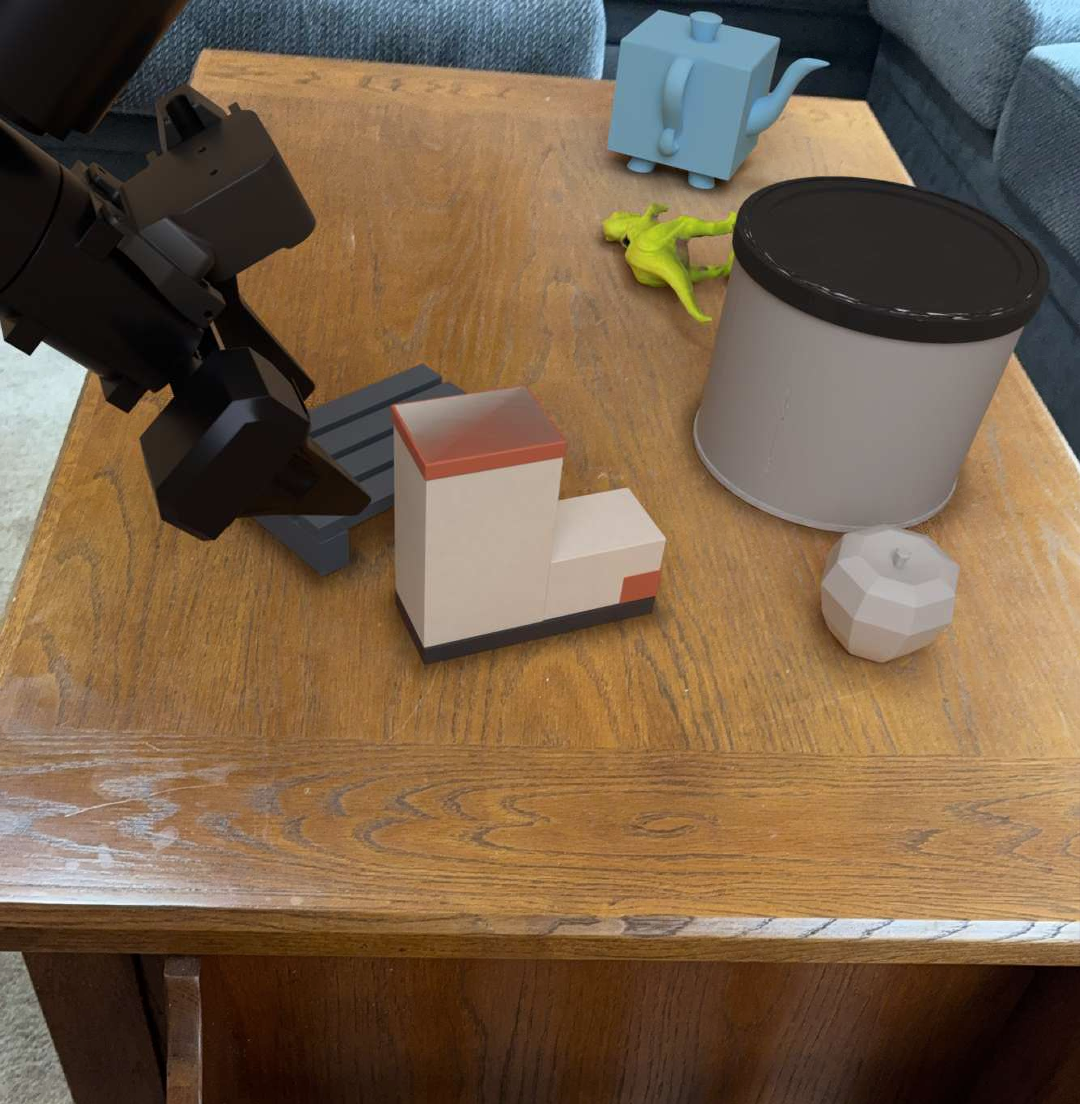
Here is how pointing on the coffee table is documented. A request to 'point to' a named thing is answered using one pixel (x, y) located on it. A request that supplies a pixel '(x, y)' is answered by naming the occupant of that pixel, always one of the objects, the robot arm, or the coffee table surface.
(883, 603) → the apple
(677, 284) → the dinosaur figurine
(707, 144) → the teapot
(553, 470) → the cream boot
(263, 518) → the grey shipping pallet
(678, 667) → the coffee table surface
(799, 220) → the container
